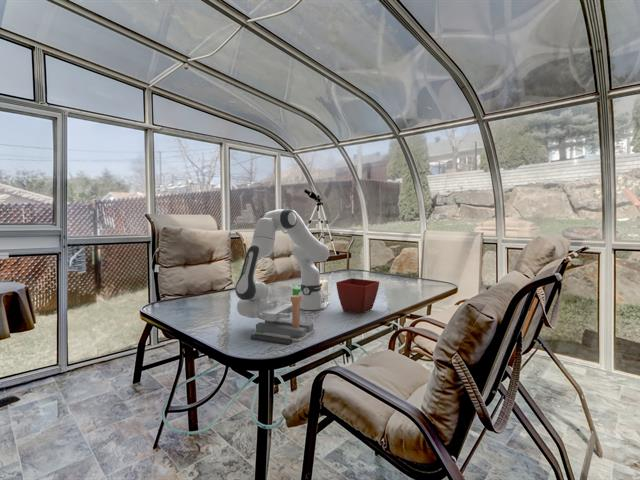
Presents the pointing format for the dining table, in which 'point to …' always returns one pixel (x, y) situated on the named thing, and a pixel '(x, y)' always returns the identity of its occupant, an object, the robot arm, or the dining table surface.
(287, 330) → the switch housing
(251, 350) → the dining table surface
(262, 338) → the twin grey rods
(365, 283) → the plant pot
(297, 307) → the breaker handle
